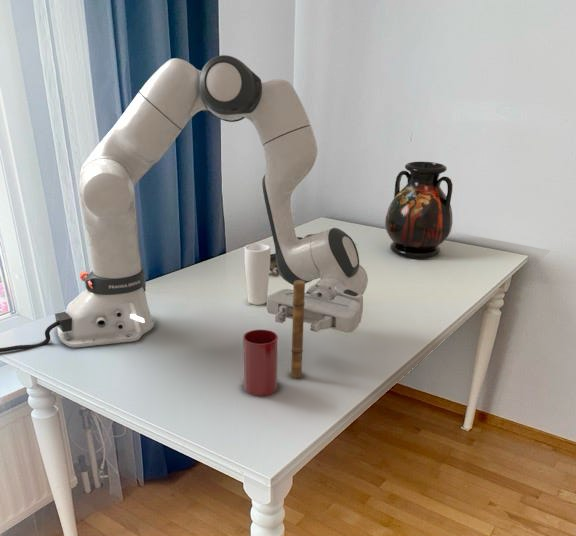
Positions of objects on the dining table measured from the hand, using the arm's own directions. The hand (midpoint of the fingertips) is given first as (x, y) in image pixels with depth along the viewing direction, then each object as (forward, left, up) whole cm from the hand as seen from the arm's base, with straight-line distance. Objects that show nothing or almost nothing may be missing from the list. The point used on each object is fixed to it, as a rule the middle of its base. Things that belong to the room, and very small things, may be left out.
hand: (295, 323), depth 120 cm
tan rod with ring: (+1, 0, -13) cm, 13 cm away
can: (-8, -1, -13) cm, 15 cm away
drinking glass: (+11, +40, -13) cm, 44 cm away
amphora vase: (+77, +56, -13) cm, 96 cm away
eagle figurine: (+25, +58, -13) cm, 65 cm away
